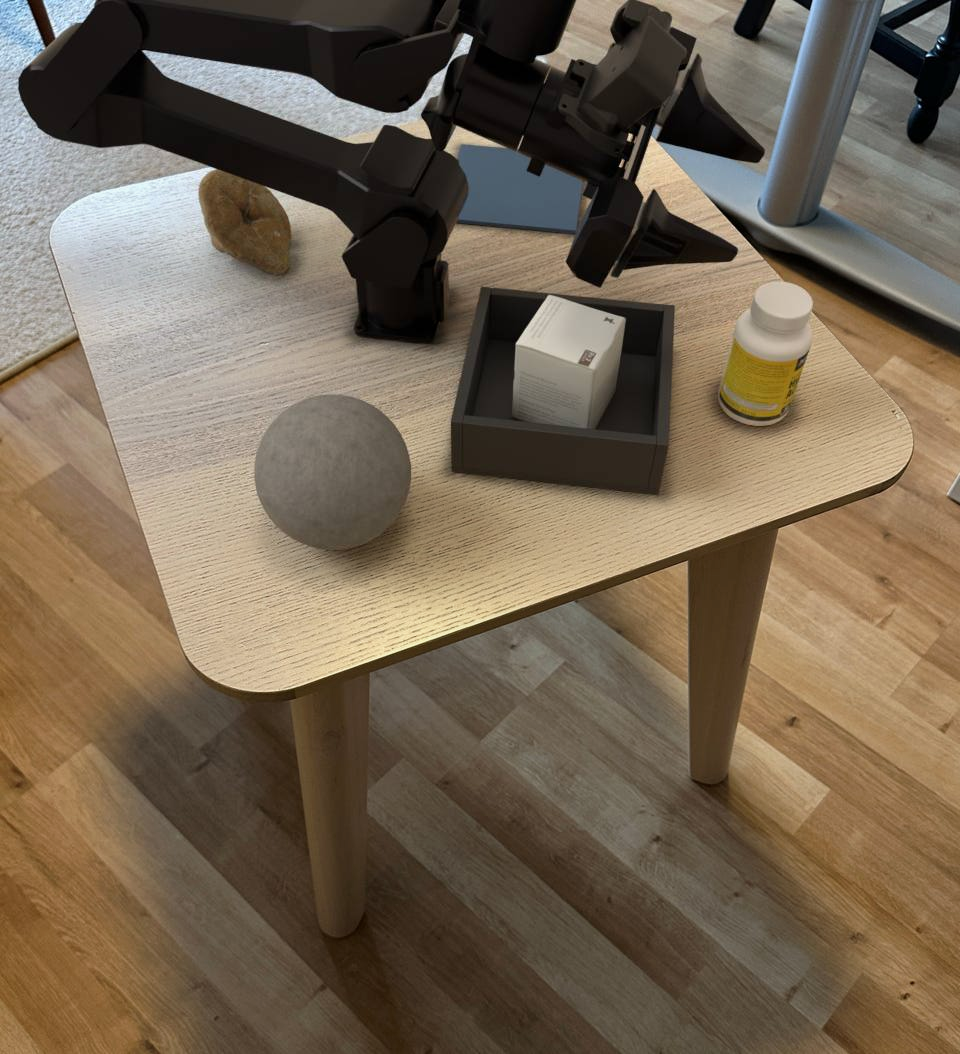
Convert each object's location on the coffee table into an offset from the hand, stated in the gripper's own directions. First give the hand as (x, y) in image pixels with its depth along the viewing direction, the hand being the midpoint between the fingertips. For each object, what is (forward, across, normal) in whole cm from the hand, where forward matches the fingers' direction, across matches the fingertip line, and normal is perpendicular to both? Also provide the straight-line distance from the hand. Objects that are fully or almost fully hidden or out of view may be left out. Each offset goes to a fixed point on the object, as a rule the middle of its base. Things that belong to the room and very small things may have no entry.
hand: (749, 204), depth 72 cm
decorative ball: (-17, -26, +16) cm, 35 cm away
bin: (-5, -11, +15) cm, 19 cm away
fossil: (-33, -1, +26) cm, 42 cm away
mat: (-15, +15, +24) cm, 32 cm away
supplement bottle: (+8, -6, +12) cm, 16 cm away
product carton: (-5, -11, +15) cm, 19 cm away
